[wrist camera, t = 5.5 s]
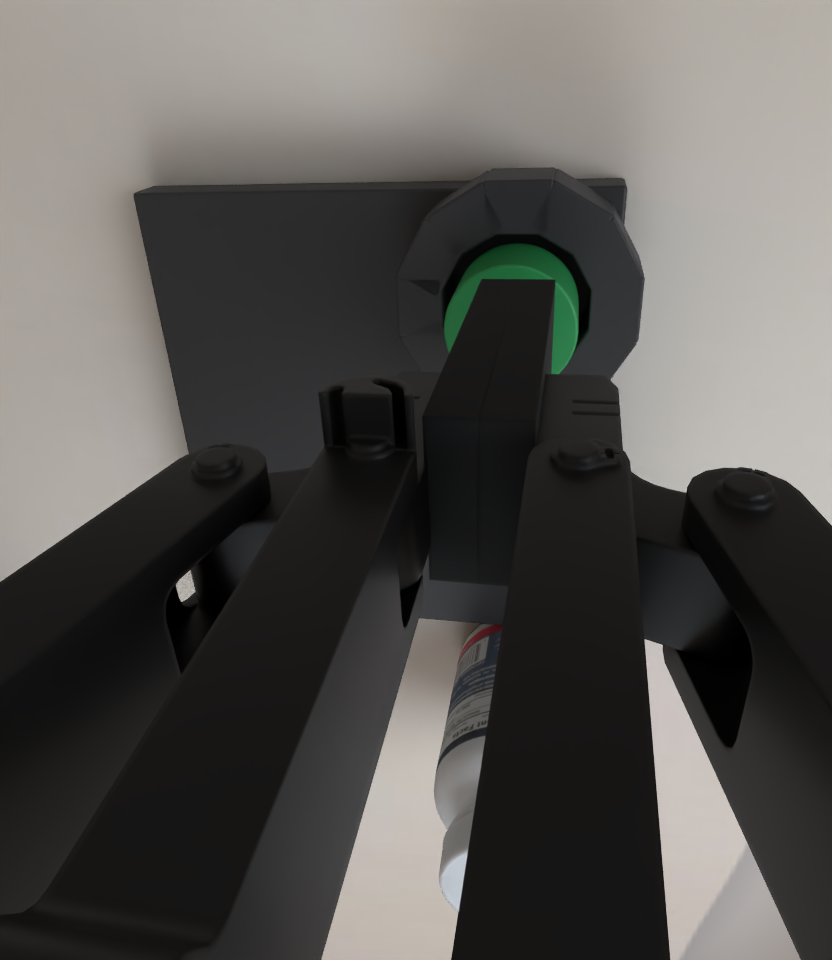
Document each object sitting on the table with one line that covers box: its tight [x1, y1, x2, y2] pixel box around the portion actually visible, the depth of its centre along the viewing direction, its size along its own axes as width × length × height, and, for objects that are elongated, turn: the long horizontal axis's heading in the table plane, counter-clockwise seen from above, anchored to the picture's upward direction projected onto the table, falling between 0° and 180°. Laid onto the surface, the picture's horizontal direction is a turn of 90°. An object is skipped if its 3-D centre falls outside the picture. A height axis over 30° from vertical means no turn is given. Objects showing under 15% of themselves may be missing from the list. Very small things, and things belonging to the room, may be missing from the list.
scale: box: [134, 168, 645, 625], centre depth 23 cm, size 14×13×3 cm
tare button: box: [444, 243, 579, 374], centre depth 18 cm, size 3×3×2 cm
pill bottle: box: [434, 624, 502, 913], centre depth 24 cm, size 5×5×9 cm
